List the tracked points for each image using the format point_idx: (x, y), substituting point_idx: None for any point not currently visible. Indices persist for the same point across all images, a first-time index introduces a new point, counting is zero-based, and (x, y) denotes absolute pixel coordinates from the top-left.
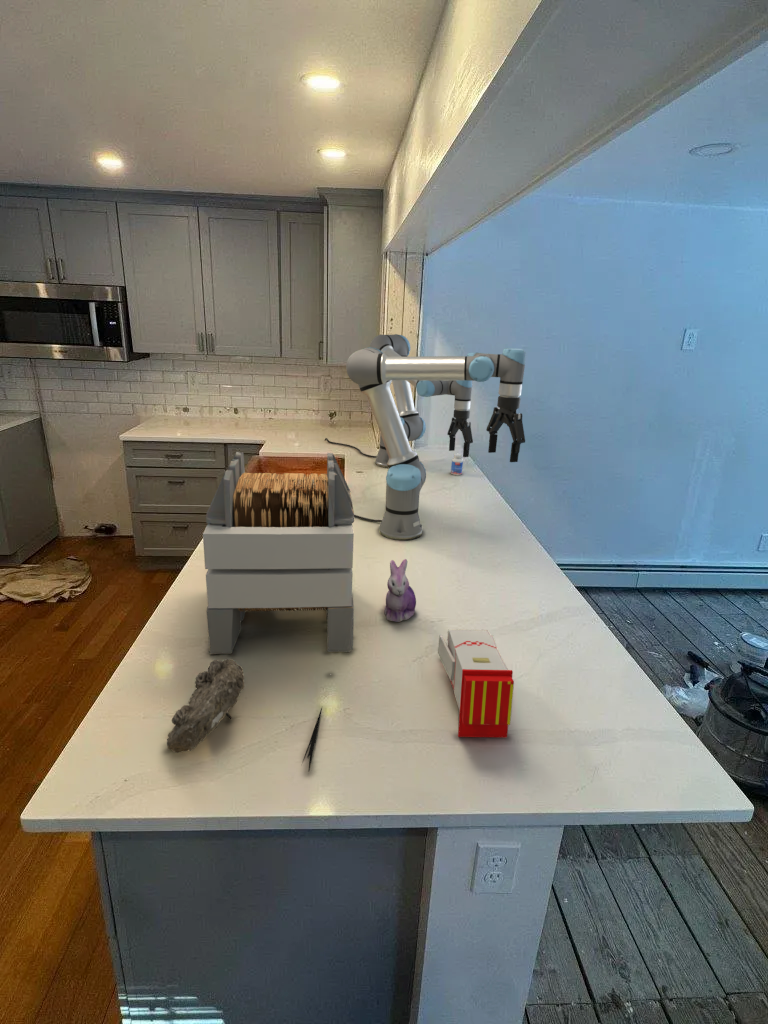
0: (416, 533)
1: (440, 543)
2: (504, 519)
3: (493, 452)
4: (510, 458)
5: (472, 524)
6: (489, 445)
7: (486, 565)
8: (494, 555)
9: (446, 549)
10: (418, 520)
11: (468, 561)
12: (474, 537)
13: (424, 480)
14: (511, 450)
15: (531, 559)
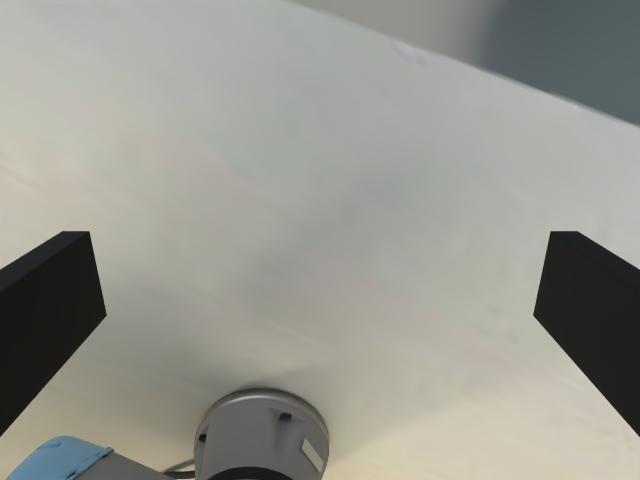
0: (323, 434)
1: (378, 375)
2: (224, 15)
3: (93, 260)
4: (564, 339)
5: (250, 197)
6: (43, 372)
7: None
8: (527, 272)
9: (425, 378)
10: (300, 451)
11: (524, 361)
12: (371, 256)
13: (98, 472)
14: (632, 413)
15: (616, 172)
